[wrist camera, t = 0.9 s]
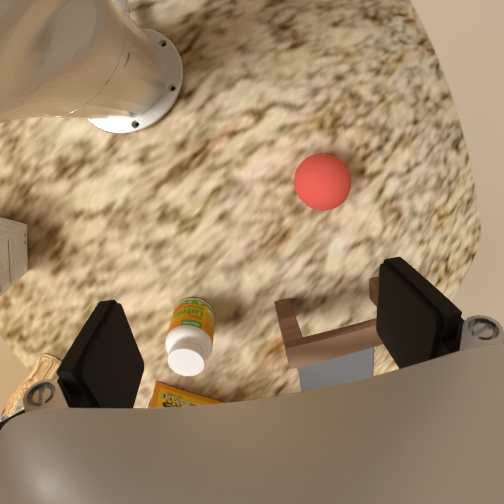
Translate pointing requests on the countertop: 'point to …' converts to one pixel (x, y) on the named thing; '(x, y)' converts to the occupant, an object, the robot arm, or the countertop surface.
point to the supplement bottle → (190, 336)
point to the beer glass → (31, 383)
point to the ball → (322, 182)
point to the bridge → (325, 335)
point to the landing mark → (337, 370)
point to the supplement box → (12, 252)
